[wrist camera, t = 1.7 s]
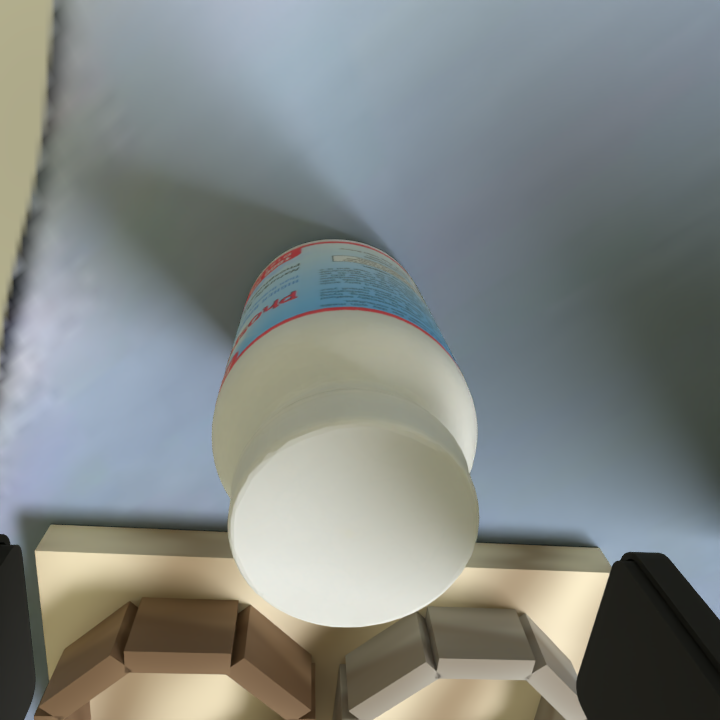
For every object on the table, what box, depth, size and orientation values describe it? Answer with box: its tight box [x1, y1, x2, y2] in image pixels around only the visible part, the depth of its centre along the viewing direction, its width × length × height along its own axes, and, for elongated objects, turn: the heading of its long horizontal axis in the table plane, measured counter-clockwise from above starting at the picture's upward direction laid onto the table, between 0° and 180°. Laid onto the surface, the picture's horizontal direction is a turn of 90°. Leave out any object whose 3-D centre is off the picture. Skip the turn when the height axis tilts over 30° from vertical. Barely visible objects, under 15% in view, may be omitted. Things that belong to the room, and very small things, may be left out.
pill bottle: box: [212, 239, 479, 627], centre depth 16 cm, size 6×6×11 cm
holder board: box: [34, 525, 612, 720], centre depth 26 cm, size 22×14×4 cm, turn 84°
